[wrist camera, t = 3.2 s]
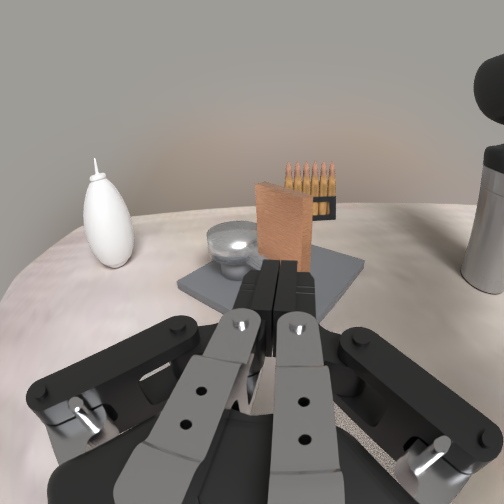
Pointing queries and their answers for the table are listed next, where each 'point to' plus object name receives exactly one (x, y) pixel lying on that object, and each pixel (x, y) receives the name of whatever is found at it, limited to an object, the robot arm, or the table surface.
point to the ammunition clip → (315, 189)
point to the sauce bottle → (107, 222)
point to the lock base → (230, 276)
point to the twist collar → (267, 231)
